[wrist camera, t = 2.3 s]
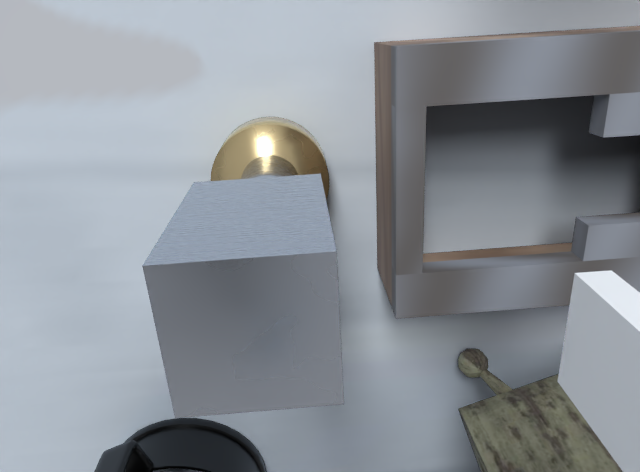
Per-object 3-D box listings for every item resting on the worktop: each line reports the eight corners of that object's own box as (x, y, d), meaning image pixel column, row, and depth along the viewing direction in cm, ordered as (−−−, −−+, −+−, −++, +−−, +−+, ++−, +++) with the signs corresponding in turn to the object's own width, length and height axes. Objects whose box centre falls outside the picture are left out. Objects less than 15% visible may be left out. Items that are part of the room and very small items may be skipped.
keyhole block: (377, 267, 26) (395, 318, 22) (374, 42, 22) (396, 46, 17) (658, 246, 27) (734, 292, 22) (708, 21, 23) (815, 20, 18)
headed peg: (224, 226, 25) (154, 439, 12) (209, 120, 23) (106, 240, 10) (328, 218, 25) (369, 421, 12) (323, 113, 23) (364, 222, 10)
